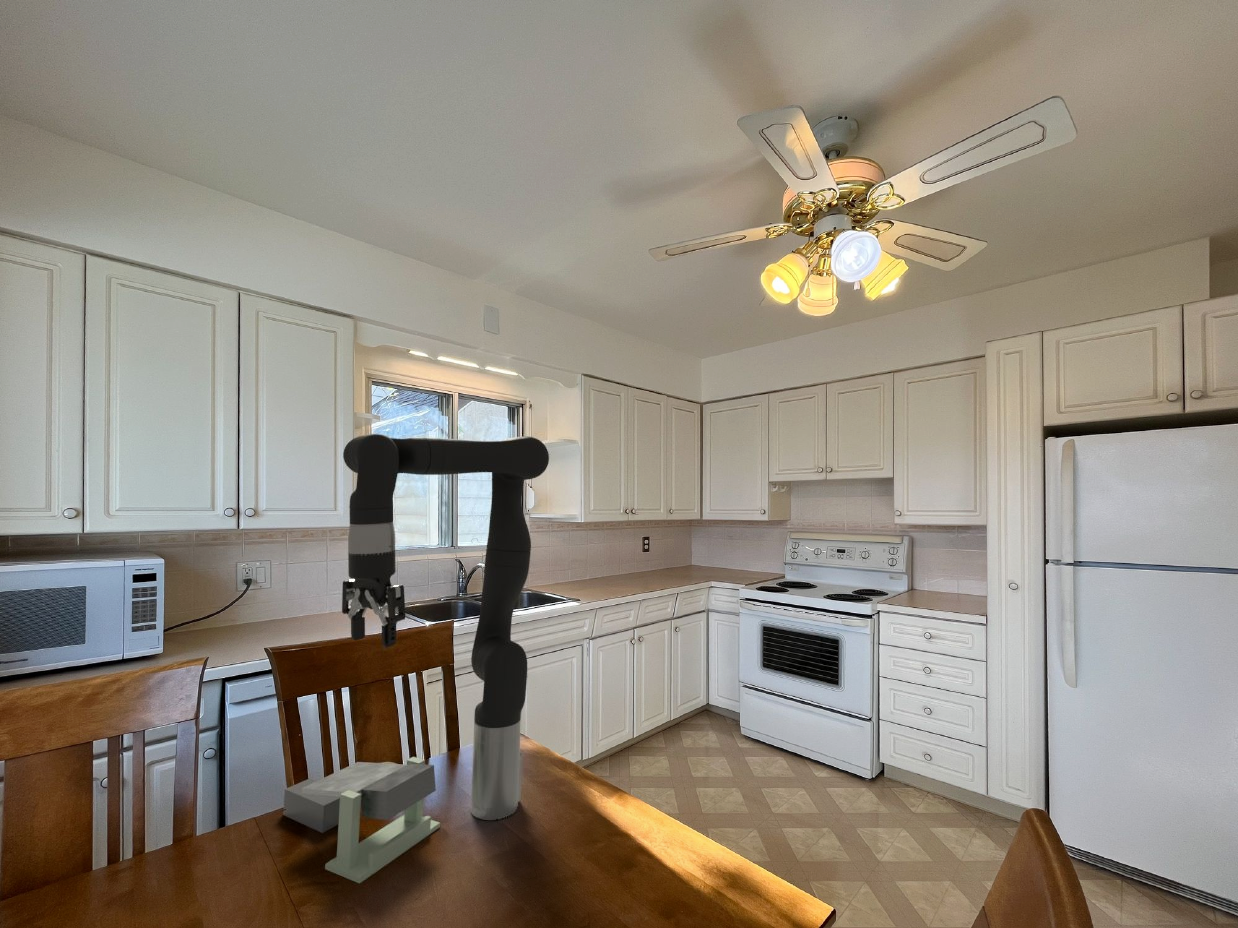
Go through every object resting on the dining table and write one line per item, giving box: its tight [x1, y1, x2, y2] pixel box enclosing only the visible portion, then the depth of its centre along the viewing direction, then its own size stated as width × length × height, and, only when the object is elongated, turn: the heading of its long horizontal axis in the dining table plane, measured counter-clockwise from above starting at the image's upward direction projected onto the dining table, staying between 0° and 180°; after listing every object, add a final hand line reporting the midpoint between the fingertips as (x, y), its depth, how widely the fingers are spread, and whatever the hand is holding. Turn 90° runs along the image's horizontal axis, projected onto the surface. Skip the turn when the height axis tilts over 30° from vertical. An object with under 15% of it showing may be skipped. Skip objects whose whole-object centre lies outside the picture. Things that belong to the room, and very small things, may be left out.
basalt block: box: [282, 778, 340, 834], centre depth 109 cm, size 5×5×12 cm
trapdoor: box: [302, 761, 437, 821], centre depth 103 cm, size 12×20×4 cm, turn 65°
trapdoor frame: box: [324, 756, 441, 884], centre depth 100 cm, size 18×8×12 cm, turn 155°
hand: (373, 642), depth 98 cm, fingers open, 8 cm apart
